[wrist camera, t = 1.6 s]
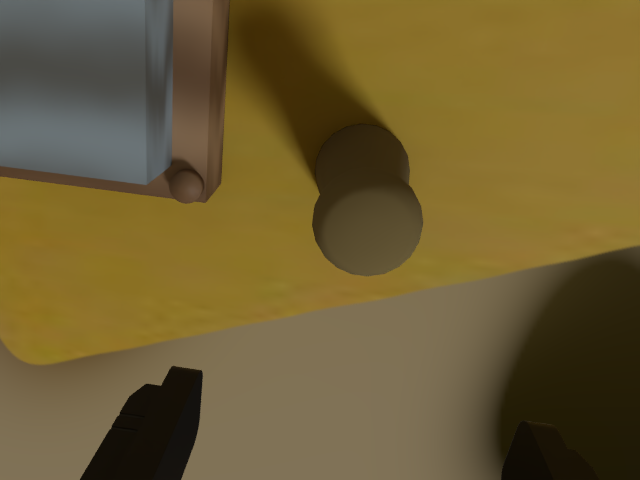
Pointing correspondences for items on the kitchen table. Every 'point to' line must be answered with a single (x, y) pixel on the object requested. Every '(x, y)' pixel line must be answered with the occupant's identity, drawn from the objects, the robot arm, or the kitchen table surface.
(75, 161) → the knobbed square tray
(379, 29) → the kitchen table surface
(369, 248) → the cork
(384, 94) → the kitchen table surface
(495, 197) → the kitchen table surface
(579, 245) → the kitchen table surface
